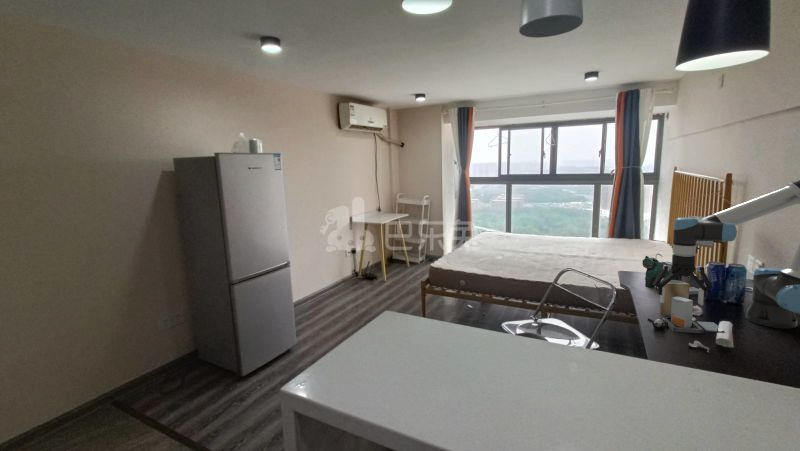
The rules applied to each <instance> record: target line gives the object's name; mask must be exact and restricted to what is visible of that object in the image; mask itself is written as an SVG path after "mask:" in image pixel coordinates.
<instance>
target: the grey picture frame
mask: <svg viewBox="0 0 800 451" xmlns="http://www.w3.org/2000/svg"><path fill="white" fill-rule="evenodd" d="M661 317H662V318H664V319H665V320H666V322H667V323H668V325H667V326H668V327H669V328H670V329H671V331H673V333H674V332H675V333H676V332H677V333H692V334H704V331H705V330H704V329H703V328H702V327H701V326H700V325H699V324H697V323H696V321H694V320H693V319H692V327H690V328H682V327H679V326H676V325H674V324H672V323H671V320H670V319H667V318H666V317H671V315H664V314H660V318H661Z"/></svg>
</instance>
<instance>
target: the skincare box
mask: <svg viewBox="0 0 800 451" xmlns="http://www.w3.org/2000/svg"><path fill="white" fill-rule="evenodd" d="M693 304H694V300H693V299H687V298H683V297H679V296H677V297H673V298H672V307H671V319H670V322H671V323H672V324H673V325H674V326H675V327H679V328H693V326H692V320H693V307H694V305H693Z"/></svg>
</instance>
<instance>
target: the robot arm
mask: <svg viewBox="0 0 800 451" xmlns="http://www.w3.org/2000/svg"><path fill="white" fill-rule="evenodd" d="M794 205H800V178H798V179H795V180H794V181H793V180H792V181H790V182H788V183H786V185H785V186H784V187H782V188H780V189H777V190H774V191H772V192H769V193H766V194H763V195H761V196H759V197H755V198H753V199H750V200H748V201H745V202H742V203H740V204H737V205H734V206H732V207H729V208H727V209H723V210H722V211H718V212H716V213H713V214H711V215H708V216H705V217H697V218H696V217H687V216H686V217H685V216H684V217H683V216H682V217H677V218H675V219H674V222H673V223H674V224H673V238H672V239H673V242H672V253H673V254H672V255H671V257H672V258H671V263H672V265H671V266H667V265H663V267H662V270H661V272H660V273H659V275H658V276H657V278H656V279H655V280H654V282H653V285H654V286H655V287H656V286H657V289H658V290H657V295H658V296H659V302H660V304H661V303H664V296H665V288H664V286H665V285H666V284H667V283H668V282H670V281H671V280H672V279H673V278H674V277H676V276H679V277H682V278H683V277H685V278H689V277H690V278H692V279H693V281H694V282H695V283H696V284H697V285H698V286H699V288H698V295H697V304H698V305H700V306H704V298H707V291H709V290H713V288H714V287H713V285H712V283H711V281H710V279H709V278H708V276H707V274H706V271H705V267H704V266H702V265H698V266H695V264H696V252H697V242H723V243H724V242H733V241H735V239H736V238H737V234H738V233H737V232H738V231H737V229H738V228H737V226H738V225H741V224H743V223H747V222H749V221H752V220H756V219H759V218H761V217H764V216H767V215H769V214H770V215H771V214H772V213H775V212H778V211H781V210H783V209H786V208H789V207H792V206H794ZM669 269H671V270H672V272H670V274H669V275H668V276H667V277H666V278H663V277H664V276H665V274H666V273H667V271H669ZM696 271H697V272H698V273H699V275H700V277H701V279H702V281H703V282H702V281H701V280H700V279H699V278H698V277H697V276H696V275H695V274H694V272H696ZM752 277H753V281H752V296H751V298H752V299H751V302H750V305H749V306H748V308H747V310H746V312H745V319H746V320H747V321H749V322H751V323H753V324H757V325H758V326H759V325H760V326H764V327H768V328H775V329H783V330H784V329H795V328H797V327H798V319H797V316H796V314H800V243H799V244H798V246H797V248H796V250H795V253H794V255H793V256H792V258H791V261H790V263H789V265H788V266H787V268H779V267H757V268H754V271H753V275H752Z"/></svg>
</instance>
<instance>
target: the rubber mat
mask: <svg viewBox="0 0 800 451" xmlns="http://www.w3.org/2000/svg"><path fill="white" fill-rule="evenodd" d="M695 323H696V324H697V325H698V326H700V327H701V328H702V329H703V330H704V331H706V332H712V333H718V332H717V329H718V325H717V323H715V322H712V321H699V320H698V321H695Z"/></svg>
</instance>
